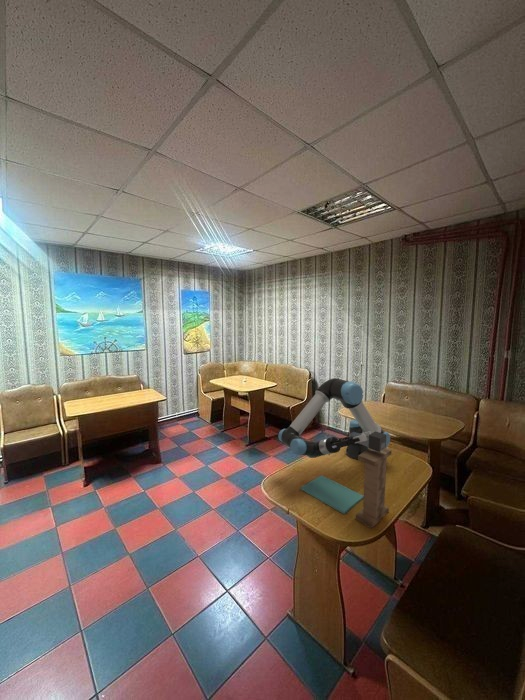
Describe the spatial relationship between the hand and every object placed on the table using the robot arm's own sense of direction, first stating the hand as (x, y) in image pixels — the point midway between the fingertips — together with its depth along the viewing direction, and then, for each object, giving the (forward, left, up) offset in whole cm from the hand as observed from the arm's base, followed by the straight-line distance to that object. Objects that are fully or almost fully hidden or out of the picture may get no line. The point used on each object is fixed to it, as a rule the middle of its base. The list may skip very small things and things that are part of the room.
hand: (368, 435), depth 129 cm
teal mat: (0, -19, -37) cm, 41 cm away
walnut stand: (0, +3, -37) cm, 37 cm away
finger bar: (0, -1, -4) cm, 4 cm away
